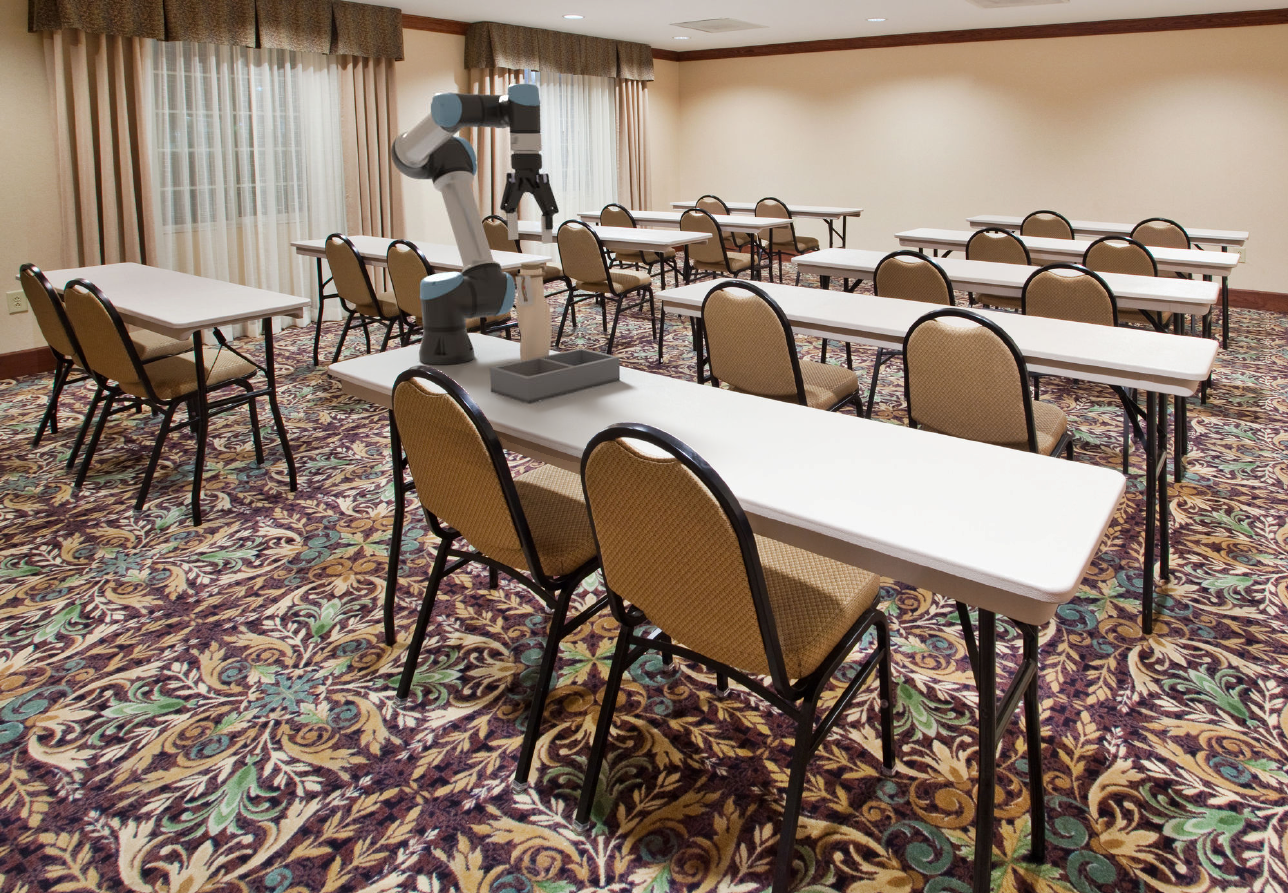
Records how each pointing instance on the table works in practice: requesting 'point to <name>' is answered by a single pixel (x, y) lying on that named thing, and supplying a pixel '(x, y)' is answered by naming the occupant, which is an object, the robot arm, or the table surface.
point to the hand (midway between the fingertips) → (530, 241)
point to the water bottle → (532, 312)
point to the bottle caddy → (554, 375)
